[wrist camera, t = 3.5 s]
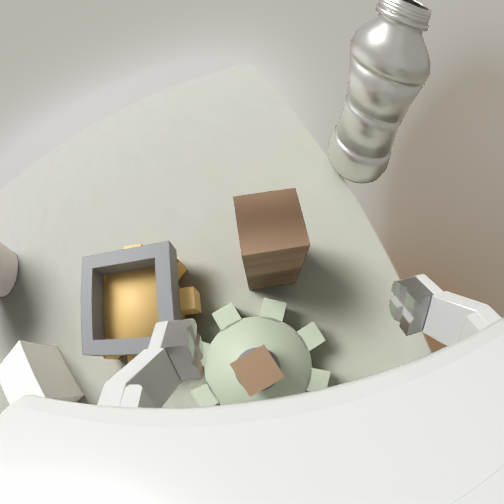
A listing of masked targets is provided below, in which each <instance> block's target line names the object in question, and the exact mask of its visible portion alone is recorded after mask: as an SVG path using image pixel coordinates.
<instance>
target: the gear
mask: <svg viewBox="0 0 504 504" xmlns="http://www.w3.org/2000/svg"><path fill="white" fill-rule="evenodd" d="M286 304H287V303H286V302H281V301H277V300H273V299H268V298H264V299H263V303H262V307H261V311H260V314H259V316H255V317H247V318H243V319H242V318H241V317H240V315H239V313H238V312H237V310H236V308H235V307H234V305H233V303H232V302H231V303H229V304H228V305H226V306H224V307H222V308H221V309H219V310H217V311H215V312H214V313H212V316H213V317H214V319H215V321H216V323H217V324H218V326H219V328H220V330H221V331H220V332H219V333H218V334H217V335H216V337H215V338H214V339H213V341H212V342H211V344H210V343H207V342H203V341H202V343H203V351H204V354H203V358H202V360H201V363H202V366H204V370H205V378H206V382H207V383H206V384H204V385H202V386H200V387H198V388H196V389H194V390H192V391H190V392H191V394H192V395H193V397H194V399H195V400H196V402H197V404H198V405H199V407H202V406H214V405H216V404H218V403H219V404H220V405H227V404H237V403H245V402H253V401H260V400H267V399H273V398H279V397H284V396H290V395H295V394H300V393H305V392H306V391H314V390H319V389H323V388H327V385H328V381H329V377H330V373H331V371H327V370H323V369H317V368H312V361H311V356H310V352H309V351H310V350H312V349H313V348H315V347H317V346H318V345H319V344H321V343H322V342H324V341H325V338H324V337H323V335H322V334H321V332H320V331H319V329H318V327H317V326H316V324H315V323H314V321H312V322H311V323H309V324H308V325H306V326H305V327H303V328H301V329H300V330H298V331H297V332H296V331H295V330H294V329H293V328H292V327H290V326H289V325H287V324H286V323H284V322H282V321H283V317H284V313H285V308H286Z"/></svg>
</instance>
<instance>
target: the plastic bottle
mask: <svg viewBox="0 0 504 504" xmlns="http://www.w3.org/2000/svg"><path fill="white" fill-rule="evenodd" d="M376 11H378V12H379V15H378V17H376V18H374V19H372V20H371V21H369V22H367V23H366V24H364V25H363V26H362V27H361V28H359V29H358V30H357V31H356V32H355V34H354V36H353V37H352V39H351V44H350V73H349V83H348V89H347V95H346V101H345V105H344V108H343V110H342V113H341V116H340V119H339V121H338V124H337V125H336V127H335V129H334V131H333V133H332V135H331V137H330V139H329V144H328V155H329V160H330V162H331V164H332V166H333V167H334V169H335V170H336V171H337V172H338V173H339V174H340V175H341V176H342V177H344V178H345V179H347V180H349V181H352V182H355V183H369V182H373V181H374V180H376V179H377V178H379V177H380V176H381V174H382V173H383V172H384V171H385V169H386V168H387V165H388V162H389V159H390V154H391V148H392V146H393V143H394V140H395V137H396V134H397V131H398V128H399V126H400V124H401V122H402V120H403V118H404V117H405V115H406V113H407V111H408V109H409V107H410V105H411V104H412V102H413V101H414V99H415V97H416V96H417V95H418V93H419V92H420V90H421V89H422V87H423V85H424V84H425V82H426V81H427V78H428V77H429V75H430V59H429V55H428V51H427V47H426V45H425V43H424V40H423V37H422V31H427V30H428V27H429V25H428V22H429V19H430V16H431V10H430V9H429V8H428V7H426V6H424V5H423V4H421V3H419V2H417V1H415V0H379V3H378V4H377V5H376Z"/></svg>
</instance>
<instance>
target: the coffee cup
mask: <svg viewBox="0 0 504 504" xmlns="http://www.w3.org/2000/svg"><path fill="white" fill-rule="evenodd" d="M17 274H18V259H17V256H16V254H15V253H14V252H13V251H11V250H10V249H9V248H7V247H6V246H5V245H3V244H2V243H1V242H0V297H4V296H6V295H8V294H9V293H10V291H11V290H12V288H13V286H14V284H15V281H16V278H17Z"/></svg>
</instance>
